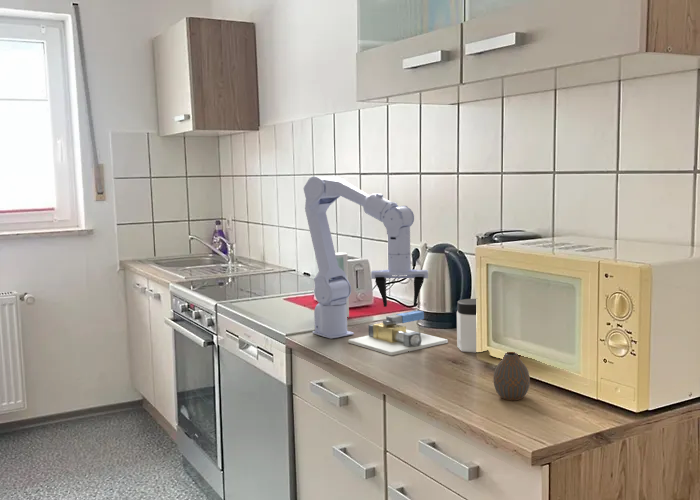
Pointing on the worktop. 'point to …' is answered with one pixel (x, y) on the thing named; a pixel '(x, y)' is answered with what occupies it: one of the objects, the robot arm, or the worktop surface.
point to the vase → (511, 377)
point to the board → (396, 344)
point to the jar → (466, 325)
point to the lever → (403, 318)
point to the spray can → (343, 264)
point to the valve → (394, 334)
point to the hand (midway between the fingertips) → (400, 306)
